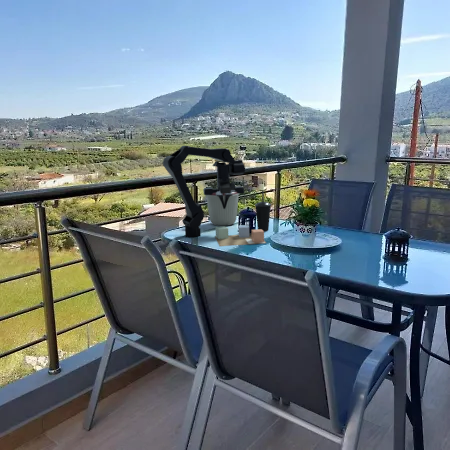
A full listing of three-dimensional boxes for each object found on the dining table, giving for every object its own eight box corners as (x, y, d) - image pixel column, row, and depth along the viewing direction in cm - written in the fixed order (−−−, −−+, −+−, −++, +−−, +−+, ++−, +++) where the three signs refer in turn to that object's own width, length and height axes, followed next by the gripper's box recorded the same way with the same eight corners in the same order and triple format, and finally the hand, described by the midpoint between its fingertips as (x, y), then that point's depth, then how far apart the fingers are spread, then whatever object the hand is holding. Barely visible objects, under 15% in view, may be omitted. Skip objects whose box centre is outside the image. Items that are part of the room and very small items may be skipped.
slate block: (239, 237, 181) (239, 227, 180) (238, 235, 185) (238, 225, 184) (249, 237, 181) (249, 227, 180) (248, 234, 185) (248, 225, 184)
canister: (243, 226, 207) (242, 185, 202) (207, 228, 205) (206, 187, 200) (237, 219, 225) (236, 181, 220) (204, 221, 222) (203, 183, 218)
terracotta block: (253, 242, 172) (253, 232, 171) (251, 239, 176) (251, 229, 175) (264, 241, 173) (264, 231, 172) (261, 239, 177) (261, 229, 176)
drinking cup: (272, 234, 190) (271, 191, 185) (255, 234, 190) (255, 192, 186) (270, 230, 197) (270, 189, 193) (254, 230, 197) (254, 190, 193)
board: (219, 248, 168) (219, 246, 168) (214, 238, 185) (214, 236, 184) (266, 245, 171) (266, 243, 171) (257, 236, 187) (257, 233, 187)
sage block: (218, 239, 179) (218, 229, 178) (215, 236, 183) (215, 227, 182) (228, 238, 180) (228, 228, 179) (225, 235, 185) (225, 226, 184)
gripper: (204, 178, 179) (206, 213, 182) (246, 176, 182) (247, 210, 185) (202, 175, 190) (204, 208, 193) (241, 174, 192) (242, 206, 196)
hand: (224, 208), depth 192 cm, fingers closed
